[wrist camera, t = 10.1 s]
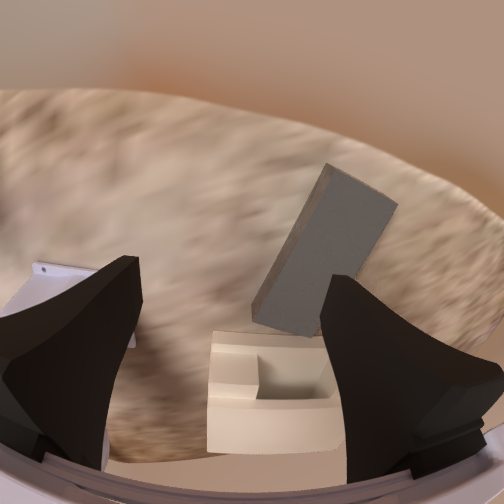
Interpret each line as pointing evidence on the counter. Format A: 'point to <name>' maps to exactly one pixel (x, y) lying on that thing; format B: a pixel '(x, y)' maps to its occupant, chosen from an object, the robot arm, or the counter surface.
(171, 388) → the counter surface
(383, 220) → the gray block
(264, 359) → the slotted box
